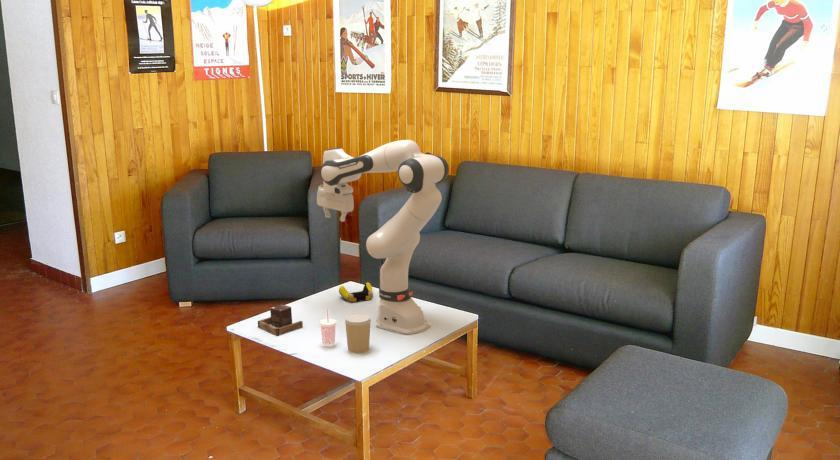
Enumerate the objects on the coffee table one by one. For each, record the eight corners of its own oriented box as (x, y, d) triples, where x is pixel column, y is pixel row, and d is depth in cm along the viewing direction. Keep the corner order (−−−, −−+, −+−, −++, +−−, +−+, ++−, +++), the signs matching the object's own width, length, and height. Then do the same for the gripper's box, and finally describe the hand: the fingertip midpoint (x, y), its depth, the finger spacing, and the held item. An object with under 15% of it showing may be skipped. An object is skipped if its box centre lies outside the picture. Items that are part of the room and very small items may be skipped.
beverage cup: (317, 344, 272) (315, 308, 269) (330, 339, 276) (329, 304, 273) (326, 348, 268) (325, 313, 264) (340, 344, 272) (339, 309, 268)
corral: (302, 327, 288) (302, 321, 288) (277, 335, 280) (277, 329, 279) (283, 319, 297) (282, 313, 296) (258, 327, 289) (257, 321, 288)
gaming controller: (337, 297, 323) (344, 304, 314) (337, 285, 322) (344, 292, 313) (369, 292, 329) (377, 299, 320) (369, 281, 327) (377, 287, 318)
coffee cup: (376, 348, 268) (376, 317, 265) (358, 356, 262) (357, 324, 259) (358, 341, 274) (358, 311, 272) (340, 349, 268) (339, 318, 265)
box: (292, 324, 292) (291, 306, 290) (281, 328, 287) (280, 311, 285) (282, 320, 295) (281, 303, 294) (270, 325, 291) (269, 307, 289)
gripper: (312, 184, 307) (313, 216, 311) (344, 191, 294) (345, 224, 297) (324, 182, 312) (325, 214, 315) (356, 189, 298) (356, 222, 301)
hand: (335, 219), depth 306 cm, fingers open, 8 cm apart
